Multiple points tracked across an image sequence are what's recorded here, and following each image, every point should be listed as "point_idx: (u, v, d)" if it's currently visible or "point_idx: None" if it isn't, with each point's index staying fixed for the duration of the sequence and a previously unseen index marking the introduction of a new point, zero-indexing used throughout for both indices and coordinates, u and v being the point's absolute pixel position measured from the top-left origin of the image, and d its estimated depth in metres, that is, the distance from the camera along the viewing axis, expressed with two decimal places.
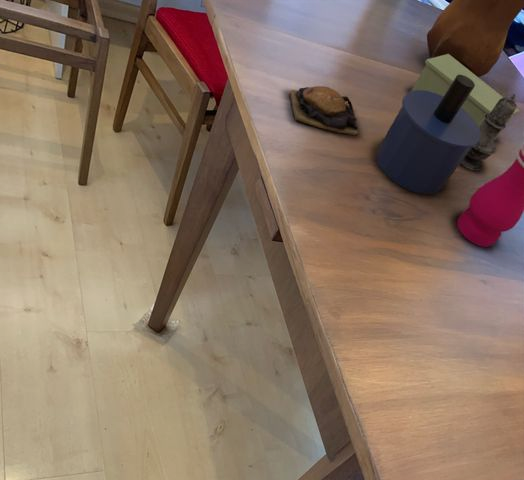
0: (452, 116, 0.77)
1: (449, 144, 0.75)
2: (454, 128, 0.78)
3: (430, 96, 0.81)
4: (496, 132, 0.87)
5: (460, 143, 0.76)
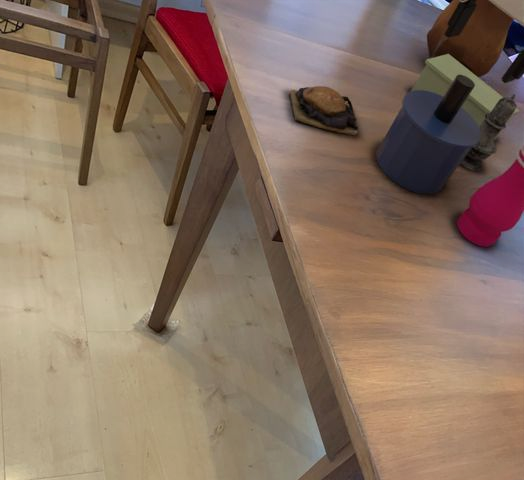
0: (452, 116, 0.77)
1: (449, 144, 0.75)
2: (454, 128, 0.78)
3: (430, 96, 0.81)
4: (496, 132, 0.87)
5: (460, 143, 0.76)
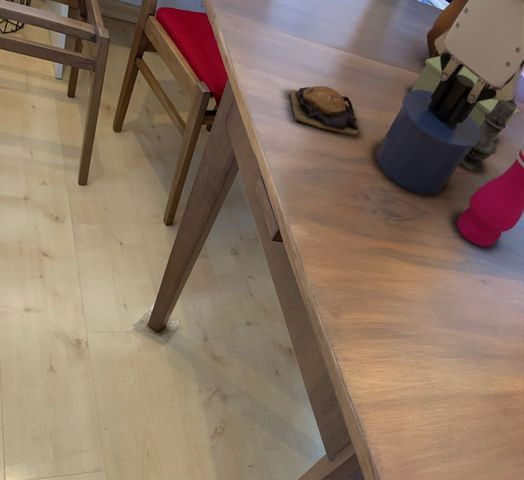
0: None
1: (449, 144, 0.75)
2: (454, 128, 0.78)
3: (430, 96, 0.81)
4: (496, 132, 0.87)
5: (460, 143, 0.76)
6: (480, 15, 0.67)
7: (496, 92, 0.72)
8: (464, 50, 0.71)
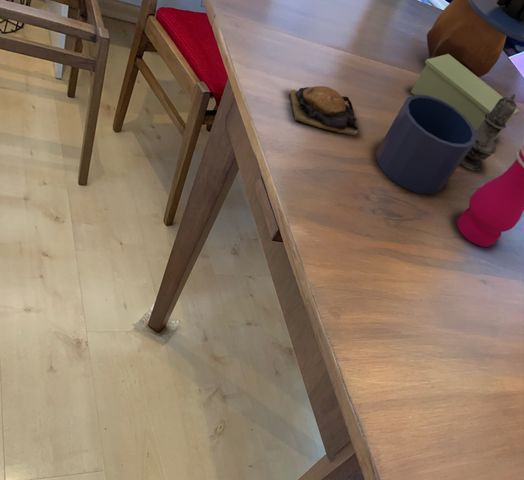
0: None
1: None
2: None
3: None
4: (496, 132, 0.87)
5: None
6: None
7: None
8: None
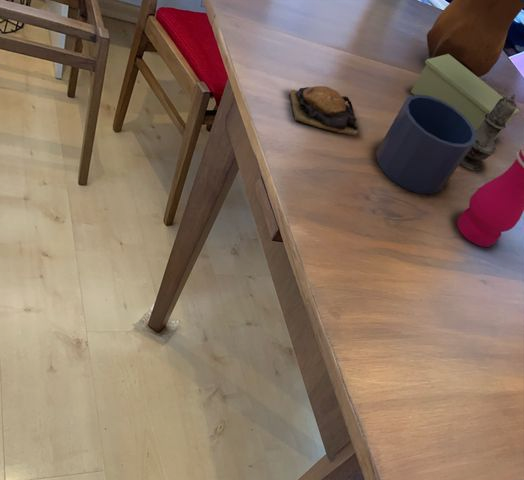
0: None
1: None
2: None
3: None
4: (496, 132, 0.87)
5: None
6: None
7: None
8: None
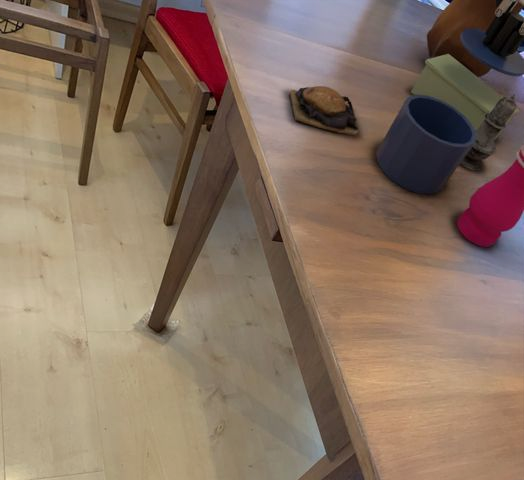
0: None
1: (502, 72, 0.87)
2: (505, 59, 0.90)
3: (483, 34, 0.93)
4: (496, 132, 0.87)
5: (511, 71, 0.88)
6: None
7: None
8: None
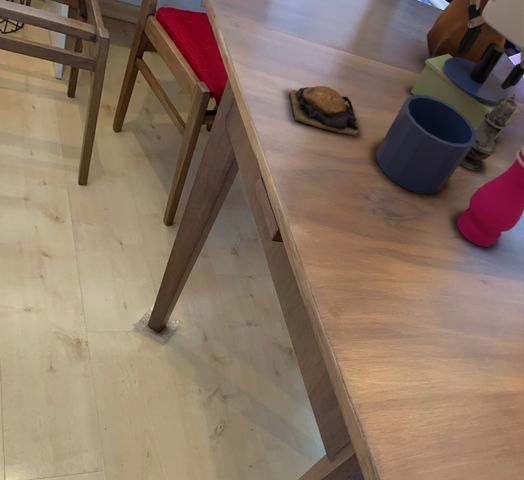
0: (485, 77, 0.93)
1: (483, 100, 0.91)
2: (486, 88, 0.93)
3: (465, 62, 0.97)
4: (496, 132, 0.87)
5: (492, 99, 0.92)
6: None
7: None
8: (498, 20, 0.86)
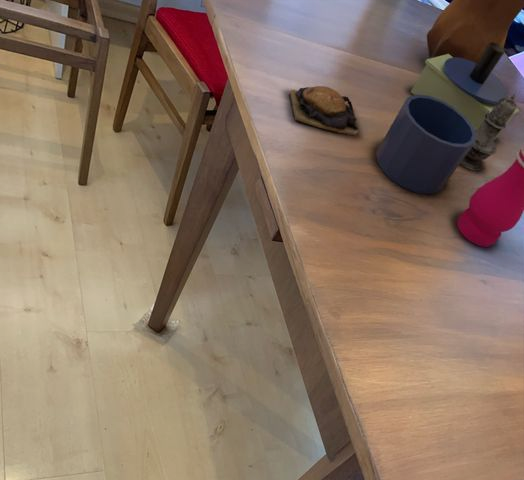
0: (485, 77, 0.93)
1: (483, 100, 0.91)
2: (486, 88, 0.93)
3: (465, 62, 0.97)
4: (496, 132, 0.87)
5: (492, 99, 0.92)
6: None
7: None
8: None
